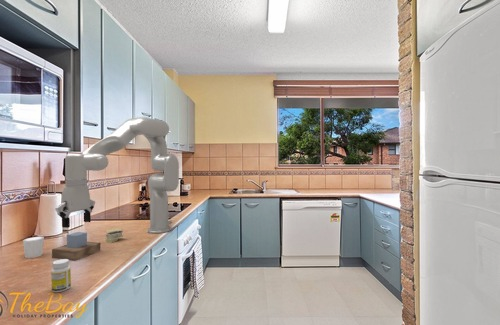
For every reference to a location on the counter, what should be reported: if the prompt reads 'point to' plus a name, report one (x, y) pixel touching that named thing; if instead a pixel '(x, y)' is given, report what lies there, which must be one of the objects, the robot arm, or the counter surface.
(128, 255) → the counter surface
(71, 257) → the walnut block
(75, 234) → the slate cube
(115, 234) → the stacked layers on plate
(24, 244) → the white short cylinder
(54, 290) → the supplement bottle
